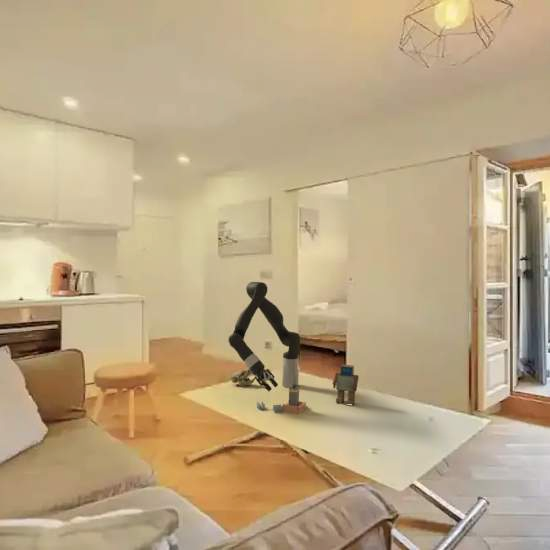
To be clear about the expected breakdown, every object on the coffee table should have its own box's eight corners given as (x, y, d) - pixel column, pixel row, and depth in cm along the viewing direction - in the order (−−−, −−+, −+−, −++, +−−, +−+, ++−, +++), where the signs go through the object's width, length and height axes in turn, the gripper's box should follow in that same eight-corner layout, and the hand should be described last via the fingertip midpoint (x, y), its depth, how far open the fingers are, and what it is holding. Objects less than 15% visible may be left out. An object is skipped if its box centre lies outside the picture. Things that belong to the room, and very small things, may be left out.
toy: (331, 404, 228) (332, 366, 227) (336, 399, 236) (337, 363, 236) (355, 407, 223) (356, 369, 223) (358, 402, 232) (359, 366, 232)
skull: (258, 384, 255) (254, 368, 255) (233, 391, 255) (228, 375, 256) (259, 380, 265) (255, 365, 265) (235, 387, 265) (231, 371, 265)
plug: (291, 405, 221) (291, 383, 221) (298, 406, 219) (299, 384, 219) (288, 407, 217) (289, 385, 217) (296, 408, 215) (296, 386, 215)
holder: (279, 410, 215) (279, 404, 215) (287, 404, 225) (287, 399, 225) (300, 413, 211) (300, 408, 211) (307, 407, 221) (307, 401, 221)
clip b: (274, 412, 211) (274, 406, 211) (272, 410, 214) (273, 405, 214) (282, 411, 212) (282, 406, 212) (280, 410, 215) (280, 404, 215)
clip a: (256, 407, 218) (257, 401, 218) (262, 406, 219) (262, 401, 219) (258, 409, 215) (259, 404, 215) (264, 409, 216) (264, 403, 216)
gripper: (253, 362, 219) (273, 387, 215) (264, 357, 232) (283, 380, 228) (243, 371, 221) (263, 396, 217) (255, 365, 234) (274, 389, 230)
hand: (273, 388), depth 222 cm, fingers open, 8 cm apart
